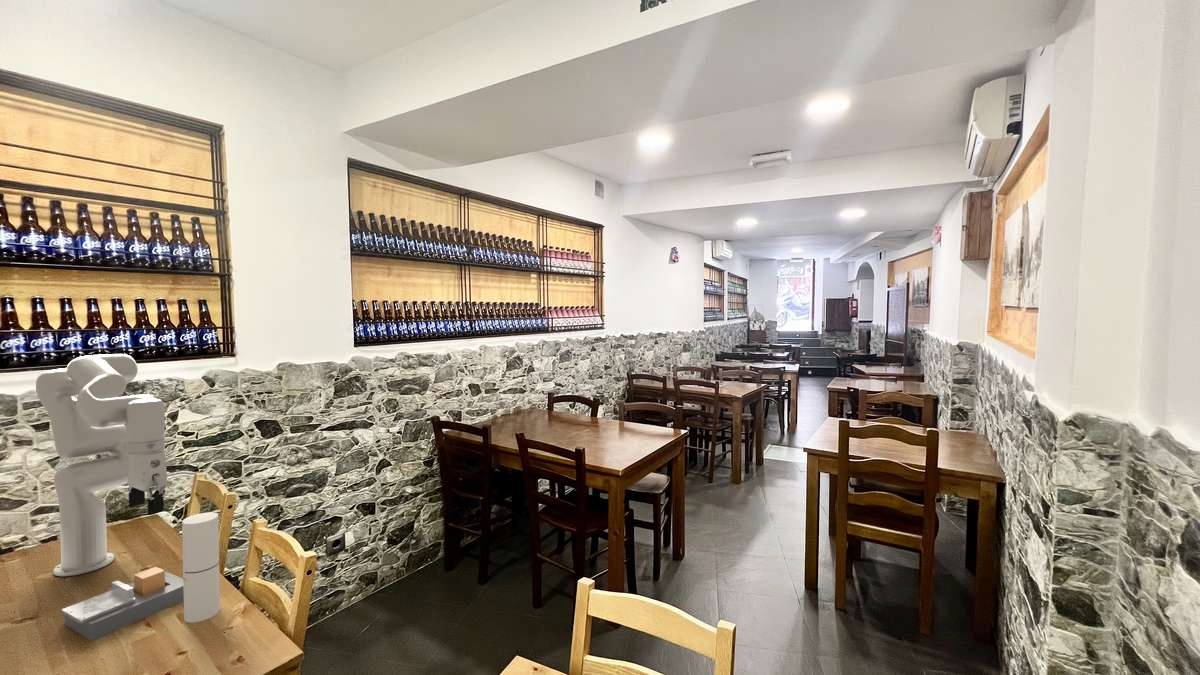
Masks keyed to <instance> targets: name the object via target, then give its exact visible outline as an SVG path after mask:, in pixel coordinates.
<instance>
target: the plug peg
mask: <svg viewBox="0 0 1200 675" xmlns="http://www.w3.org/2000/svg"><path fill="white" fill-rule="evenodd" d="M165 571H166V570H164V569H163V568H160V567H158V566H153V567H151V568H149V569H146V570H143V571H140V572H137V573H134V574H133V582H134V593H136V594H138V595H140V596H143V595H146V594H148V593H151V592H153V591H156V590H158V589H160V588H163V587H165Z"/></svg>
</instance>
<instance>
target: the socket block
mask: <svg viewBox="0 0 1200 675" xmlns="http://www.w3.org/2000/svg"><path fill="white" fill-rule="evenodd" d="M164 571H165V587H163V588H160V589H158V590H156V591H153V592H151V593H148V594H146V595H143V596H140V595H138V594H136V593H134V598H136V602H134V603H131V604H129V605H126V606H124V607H121V608H119V609H116V610H114V611H111V612H109V613H107V614H104V615H102V616H99V617H97V618H94V619H92V620H89V621H87V622H85V623H82V624H80V623H78V622H77V621H75V620H73V619H72V618H70V617H68V616H66V615H65V614H63V622H64V623H63V625H65V627H68V628H70V629H72V630H73V631H75V632H76V633H77V634H79V635H81V636H82V637H84V638H86V640H89V641H91V642H92V641H95V640H97V639H99V638H101V637H104V636H106V635H108V634H111V633H113V632H115V631H118V630H120V629H122V628H124V627H127V626H129V625H131V624H133V623H136V622H139V621H140V620H143V619H144V618H147V617H149V616H151V615H154V614H156V613H159V612H160V611H163V610H166V609H168V608H170V607H173V606H175V605H177V604H180V603H182V602H184V590H183V578H182V577H180V576H177V575H175V574H172V573H170V572H168V571H166V570H164ZM126 585H129V586H131V587H133V592H134V581H132V582H129V583H128V584H126Z"/></svg>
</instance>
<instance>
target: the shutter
mask: <svg viewBox="0 0 1200 675" xmlns="http://www.w3.org/2000/svg"><path fill="white" fill-rule="evenodd" d="M134 602H136V598H134V592H133V587H131V586H129V585H127V584H126V583H124V582H122V581H120V580H115V581H112V582H111V590H108V591H105V592H103V593H101V594H97V595H95V596H93V597H90V598H88V599H84V600H83V601H79V602H78V603H74V604H72V605H69V606H67V607H65V608H64V607H63V608H61V614H63V615H64V614H65V615H66V616H68V617H70V618H72V619H73V620H75V621H77V622H78V623H80V624H82V623H85V622H87V621H89V620H92V619H94V618H97V617H99V616H102V615H104V614H107V613H109V612H111V611H114V610H116V609H119V608H121V607H124V606H126V605H129V604H131V603H134Z"/></svg>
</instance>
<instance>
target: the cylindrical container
mask: <svg viewBox="0 0 1200 675" xmlns="http://www.w3.org/2000/svg"><path fill="white" fill-rule="evenodd" d="M219 522H220V520H219V513H218V512H214V511H212V512H202V513H197V514H196V513H195V514H193V515H190V516H188V517H186V518H184V519H183V520H182V522H181V528H182V529H181V530H182V571H183V572H182V577H183V578H182V579H183V590H184V601H183V620H184V622H186V623H190V624H192V623H199V622H203V621H206V620H208V619H211V618H213V617H214V616H216V615H217V614H218V613H220V611H221V601H220V600H221V594H220V593H221V591H220V587H221V586H220V584H221V583H220V535H219V534H220V533H219V532H220V531H219V529H220V527H219V525H220V524H219Z"/></svg>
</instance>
